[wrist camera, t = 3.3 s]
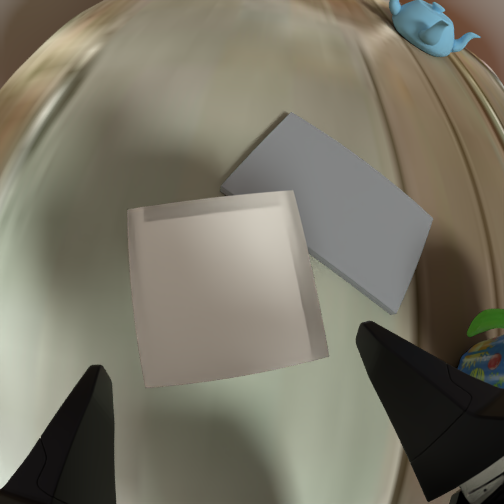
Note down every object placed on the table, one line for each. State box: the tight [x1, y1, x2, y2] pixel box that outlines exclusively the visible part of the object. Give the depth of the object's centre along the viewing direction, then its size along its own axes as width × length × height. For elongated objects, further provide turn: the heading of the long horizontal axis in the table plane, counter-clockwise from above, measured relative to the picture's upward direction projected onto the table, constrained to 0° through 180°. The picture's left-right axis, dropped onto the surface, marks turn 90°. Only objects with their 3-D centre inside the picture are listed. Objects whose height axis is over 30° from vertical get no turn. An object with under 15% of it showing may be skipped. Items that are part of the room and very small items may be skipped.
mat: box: [220, 112, 433, 315], centre depth 22 cm, size 16×10×1 cm, turn 55°
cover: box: [127, 190, 329, 388], centre depth 14 cm, size 6×6×10 cm
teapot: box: [389, 0, 481, 57], centre depth 32 cm, size 15×15×10 cm
